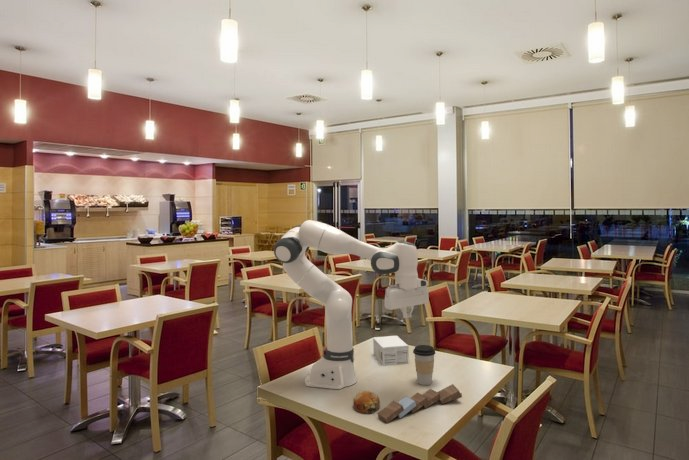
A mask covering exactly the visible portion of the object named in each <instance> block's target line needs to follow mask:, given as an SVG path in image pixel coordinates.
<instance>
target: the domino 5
mask: <svg viewBox="0 0 689 460" xmlns="http://www.w3.org/2000/svg"><path fill="white" fill-rule="evenodd" d="M437 392H438V393H439V394H440V399H438V400H437V401H439V403H440V404H441V405H444V404H447V403H449V402H451V401H450V400H452V399H454V398H456V397H458V396H459V395H461V394H460V393H461V392H460V390H459V389H458V388H457V387H456V386H455V385H454V384H453V383H452V384H451V385H448V386H446V387H443V388H442V389H441V390H439V391H437ZM448 401H449V402H448ZM452 401H453V400H452Z"/></svg>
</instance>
